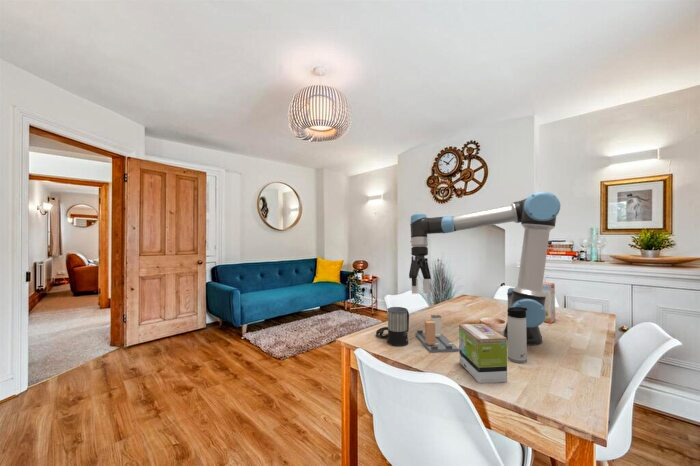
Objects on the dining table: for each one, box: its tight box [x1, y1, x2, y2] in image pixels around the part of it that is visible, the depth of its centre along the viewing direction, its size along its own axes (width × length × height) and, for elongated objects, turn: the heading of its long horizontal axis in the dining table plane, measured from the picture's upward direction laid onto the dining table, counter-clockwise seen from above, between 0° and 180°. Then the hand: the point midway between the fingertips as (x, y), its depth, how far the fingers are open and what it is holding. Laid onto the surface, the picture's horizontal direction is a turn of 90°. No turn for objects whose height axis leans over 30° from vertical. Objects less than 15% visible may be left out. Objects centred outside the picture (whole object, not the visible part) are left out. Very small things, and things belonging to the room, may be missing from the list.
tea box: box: [458, 323, 508, 384], centre depth 101 cm, size 15×10×15 cm
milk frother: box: [375, 306, 410, 347], centre depth 133 cm, size 14×16×15 cm
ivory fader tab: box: [430, 314, 442, 337], centre depth 133 cm, size 3×4×9 cm
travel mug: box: [506, 307, 528, 364], centre depth 111 cm, size 6×7×20 cm
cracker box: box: [542, 281, 556, 324], centre depth 161 cm, size 14×6×21 cm, turn 35°
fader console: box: [415, 320, 459, 354], centre depth 128 cm, size 20×12×11 cm, turn 4°
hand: (421, 293), depth 132 cm, fingers open, 13 cm apart
